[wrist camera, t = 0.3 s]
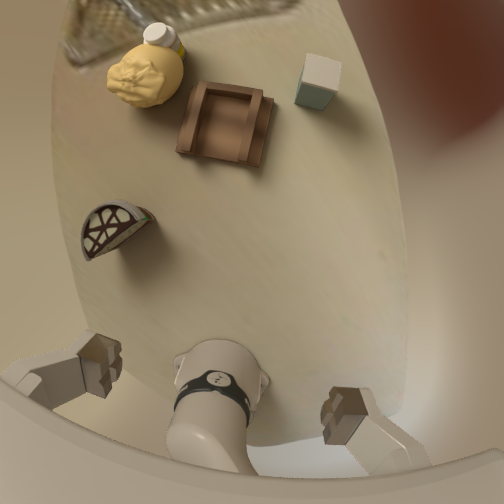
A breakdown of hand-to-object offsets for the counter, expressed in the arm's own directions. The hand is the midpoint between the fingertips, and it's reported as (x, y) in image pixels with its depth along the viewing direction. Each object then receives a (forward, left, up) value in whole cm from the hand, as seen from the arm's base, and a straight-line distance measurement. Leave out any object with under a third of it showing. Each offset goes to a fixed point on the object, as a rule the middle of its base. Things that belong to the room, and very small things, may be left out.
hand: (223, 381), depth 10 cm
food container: (-1, +23, -39) cm, 45 cm away
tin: (+27, -4, -39) cm, 48 cm away
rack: (+18, +9, -39) cm, 44 cm away
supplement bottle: (+31, +22, -39) cm, 54 cm away
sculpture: (+24, +23, -39) cm, 51 cm away
